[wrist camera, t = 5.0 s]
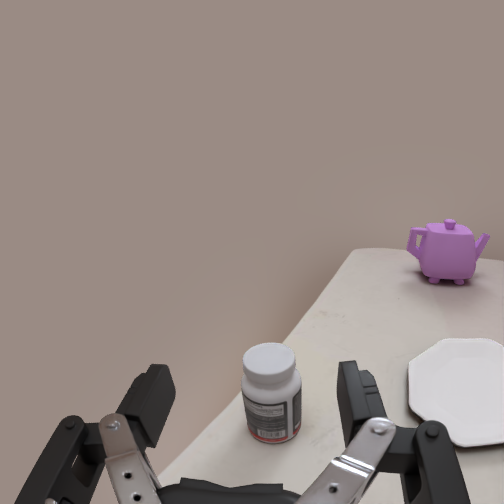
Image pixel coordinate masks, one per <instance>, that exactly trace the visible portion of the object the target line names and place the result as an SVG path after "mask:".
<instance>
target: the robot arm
mask: <svg viewBox="0 0 504 504" xmlns="http://www.w3.org/2000/svg"><path fill="white" fill-rule="evenodd" d="M175 393H176V391H175V386H174V383H173V380H172V377H171V374H170V371H169V368H168V366H167V365H164V364H151V365H150V367H149V369H148V370H147V372H146V373H141V374H140V375H139V376H138V377H137V378H136V379H135V380H134V381H133V383H132V385H131V388H129V390H128V392H127V394H126V395H125V397H124V399H123V400H122V402H121V404H120V405H119V407H118V409H117V411H116V412H115V413H114V414H109V415H107V416H105V417H104V418H102V419H101V421H100V422H99V423H84V421H83V420H82V418H80V417H79V416H75V415H72V416H68V417H66V418H64V419H63V420H62V421H61V422H60V423H59V425H58V427H57V428H56V430H55V432H54V433H53V435H52V436H51V438H50V440H49V442H48V443H47V445H46V447H45V449H44V450H43V452H42V454H41V455H40V457H39V459H38V461H37V462H36V464H35V466H34V468H33V469H32V471H31V473H30V475H29V477H28V478H27V480H26V482H25V484H24V486H23V488H22V490H21V492H20V493H19V495H18V497H17V499H16V501H15V503H14V504H89V503H90V501H91V498H92V495H93V493H94V491H95V488H96V486H97V483H98V481H99V478H100V476H101V473H102V471H103V468H104V466H105V464H106V468H107V471H108V474H109V477H110V479H111V483H112V486H113V489H114V492H115V495H116V497H117V500H118V502H119V504H358V503H359V501H360V500H361V498H362V497H363V496H364V494H365V493H366V491H367V490H368V488H369V487H370V485H371V484H372V482H373V481H374V479H375V478H376V476H377V475H378V473H379V472H386V473H400V478H401V484H402V490H403V496H404V503H405V504H471V503H470V499H469V495H468V492H467V488H466V485H465V481H464V478H463V475H462V471H461V468H460V465H459V462H458V459H457V456H456V453H455V450H454V447H453V444H452V441H451V439H450V436H449V433H448V430H447V428H446V427H445V425H444V424H442V423H441V422H439V421H435V420H428V421H425V422H423V423H421V424H420V425H419V426H418V427H417V428H404V427H399V426H396V425H395V424H394V423H393V422H392V421H391V420H390V419H388V417H387V415H386V412H385V409H384V406H383V402H382V399H381V396H380V393H379V390H378V387H377V384H376V381H375V379H374V376H373V375H372V374H371V373H370V372H369V371H368V370H362V371H359V370H358V366H357V363H356V361H355V360H354V361H344V362H339V367H338V378H337V400H338V405H339V411H340V417H341V423H342V429H343V435H344V441H345V448H346V449H345V451H344V452H343V453H342V455H341V456H340V457H336V458H334V459H333V460H332V461H331V462H330V464H329V465H328V466H327V467H326V468H325V470H324V471H323V472H322V473H321V474H320V475H319V477H318V478H317V479H316V480H315V481H314V482H313V484H312V485H311V486H310V487H309V488H308V489H307V490H306V491H305V492H304V493H303V495H302V496H301V495H299V494H297V493H294V492H291V491H287V490H283V484H252V485H246V486H240V487H233V488H228V487H224V486H221V485H218V484H215V483H211V482H208V481H205V480H197V479H189V478H182V477H181V480H180V484H173V485H168V486H165V487H162V486H161V484H160V482H159V480H158V479H157V476H156V474H155V472H154V470H153V468H152V466H151V464H150V462H149V460H148V457H147V455H146V453H145V449H146V447H151V448H155V447H156V445H157V442H158V440H159V437H160V434H161V432H162V430H163V427H164V425H165V422H166V420H167V417H168V415H169V412H170V409H171V407H172V405H173V402H174V399H175ZM77 455H78V456H77ZM76 456H77V458H76ZM75 458H76V460H75ZM74 460H75V462H74ZM73 462H74V464H73ZM72 464H73V466H72Z"/></svg>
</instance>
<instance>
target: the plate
mask: <svg viewBox="0 0 504 504" xmlns="http://www.w3.org/2000/svg"><path fill="white" fill-rule="evenodd" d="M408 389H409V407H410V409H411V411H412V412H413V413H415V414H416V415H417V416H418V417H420V418H421V419H422V420H423V421H428V420H435V421H439V422H441V423H442V424H444V425H445V427H446V428H447V430H448V433H449V436H450V439H451V441H452V443H453V444H454V445H456V446H458V447H462V448H470V447H481V446H490V445H498V444H504V346H503V345H501V344H499V343H497V342H495V341H493V340H491V339H487V338H481V339H454V338H446V339H442V340H440V341H439V342H437V343H436V344H435V345H433V346H432V347H430V348H429V349H427V350H426V351H424V352H423V353H421V354H420V355H418V356H417V357H415V358H414V359H412V360H411V361H410V362H409V364H408Z"/></svg>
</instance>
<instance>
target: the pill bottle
mask: <svg viewBox="0 0 504 504" xmlns="http://www.w3.org/2000/svg"><path fill="white" fill-rule="evenodd" d="M295 367H296V363H295V354H294V352H293V350H292V349H291V348H289V347H288V346H286V345H283V344H279V343H263V344H259V345H256V346H254V347H252V348H250V349H249V350H248V351H247V352H246V353H245V354H244V356H243V370H244V374H243V377H242V380H241V387H242V388H241V389H242V395H243V400H244V406H245V412H246V418H247V424H248V428H249V431H250V432H251V434H252V435H253V436H254V437H255V438H256V439H258V440H260V441H263V442H266V443H280V442H284V441H287V440H289V439H290V438H292V437H293V436H294V435H295V434H296V433H297V432H298V431H299V429H300V426H301V384H302V383H301V376H300V373H299V371H298V370H297V369H296V368H295Z"/></svg>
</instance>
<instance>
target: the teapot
mask: <svg viewBox="0 0 504 504" xmlns="http://www.w3.org/2000/svg"><path fill="white" fill-rule="evenodd" d="M417 234H418V235H422V239H421V242H420V247H417V246H416V238H417ZM489 238H490V235H488V234H485V233H483V235H482V236H481V237H480V238H479V239H478V240H477V241H476V242H475V241H474V236H473V233H472V232H471V231H470V230H469V229H468V228H467V227H466V226H464V225H458V224H456V221H455V220H452V219H445V220H444V223H428V224H427V225H426V227H425V228H415V227H411V230H410V236H409V240H408V244H407V251H408V252H410V253H411V254H412V255H413V256H415V257H416V258H417V259H419V263H420V266H421V269H422V272H423V274H424V275H426V276H428V277H430V278H429V280H428V281H429V282H430V283H439V280H440V278H441V279H454V283H456V284H459V285H463V284H464V280H463V279H469V278H471V276H472V275H473V273H474V271H475V267H476V261H477V259H478V258H479V256H480V254H481V252H482V251H483V249H484V247H485V245H486V243H487V242H488V240H489Z"/></svg>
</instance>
